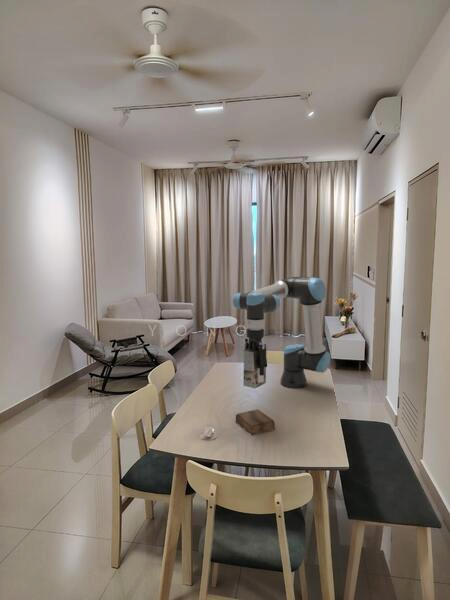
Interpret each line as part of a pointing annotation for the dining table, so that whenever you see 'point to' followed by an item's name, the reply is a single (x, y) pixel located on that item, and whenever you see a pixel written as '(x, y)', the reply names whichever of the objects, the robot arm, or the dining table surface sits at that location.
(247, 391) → the dining table surface
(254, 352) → the coffee box
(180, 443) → the dining table surface
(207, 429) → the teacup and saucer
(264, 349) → the robot arm
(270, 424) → the walnut base
